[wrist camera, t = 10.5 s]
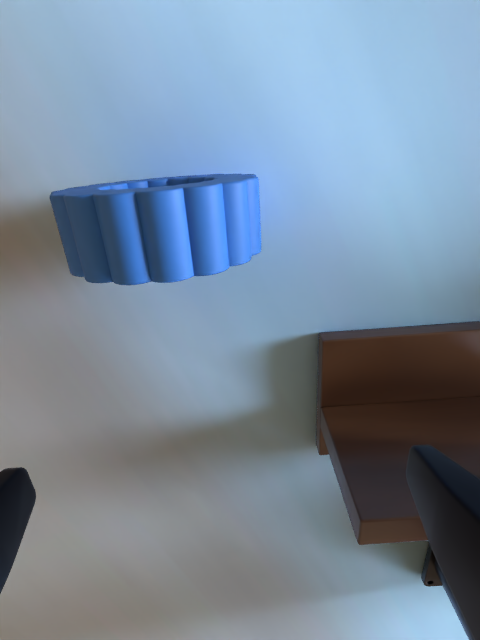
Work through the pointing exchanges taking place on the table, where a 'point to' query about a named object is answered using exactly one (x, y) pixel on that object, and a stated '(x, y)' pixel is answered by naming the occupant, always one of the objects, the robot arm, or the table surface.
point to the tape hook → (395, 416)
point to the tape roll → (159, 227)
